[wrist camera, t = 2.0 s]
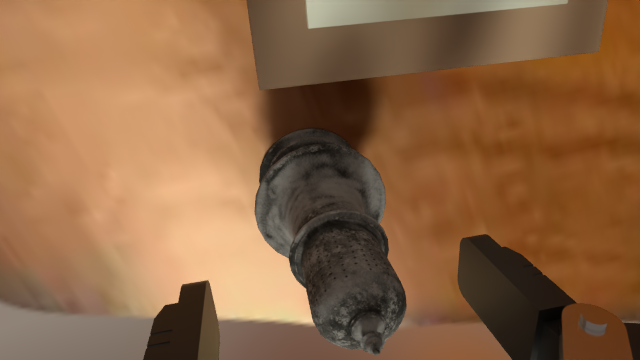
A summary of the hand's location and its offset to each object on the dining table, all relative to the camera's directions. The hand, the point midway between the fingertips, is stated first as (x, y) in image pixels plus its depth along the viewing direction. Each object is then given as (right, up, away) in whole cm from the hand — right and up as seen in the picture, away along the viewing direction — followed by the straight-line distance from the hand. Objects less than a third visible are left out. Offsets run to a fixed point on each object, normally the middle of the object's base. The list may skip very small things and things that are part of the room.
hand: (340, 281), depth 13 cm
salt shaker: (-1, +3, +9) cm, 9 cm away
